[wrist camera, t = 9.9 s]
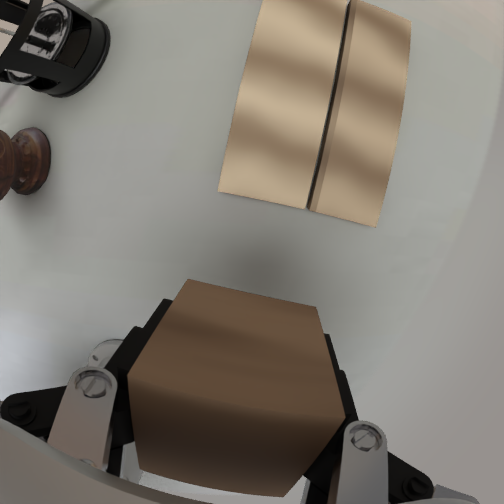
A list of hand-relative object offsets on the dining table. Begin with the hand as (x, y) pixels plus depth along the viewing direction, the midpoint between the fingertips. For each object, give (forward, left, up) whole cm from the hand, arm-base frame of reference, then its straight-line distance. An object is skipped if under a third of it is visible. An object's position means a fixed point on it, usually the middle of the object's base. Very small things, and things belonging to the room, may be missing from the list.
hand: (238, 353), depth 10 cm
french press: (+16, +23, -16) cm, 32 cm away
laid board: (+14, -6, -15) cm, 22 cm away
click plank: (+14, 0, -15) cm, 20 cm away
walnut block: (0, 0, 0) cm, 0 cm away
